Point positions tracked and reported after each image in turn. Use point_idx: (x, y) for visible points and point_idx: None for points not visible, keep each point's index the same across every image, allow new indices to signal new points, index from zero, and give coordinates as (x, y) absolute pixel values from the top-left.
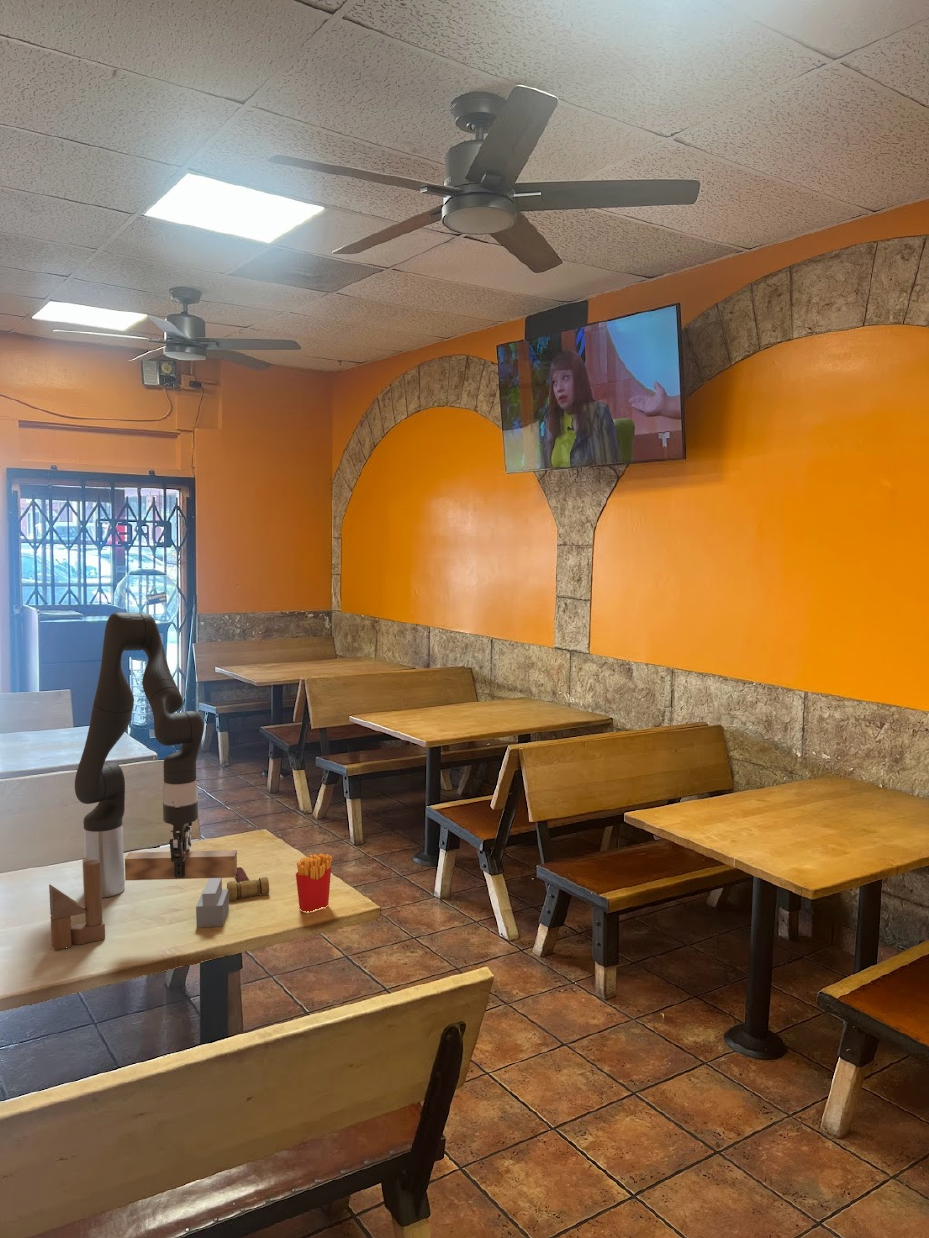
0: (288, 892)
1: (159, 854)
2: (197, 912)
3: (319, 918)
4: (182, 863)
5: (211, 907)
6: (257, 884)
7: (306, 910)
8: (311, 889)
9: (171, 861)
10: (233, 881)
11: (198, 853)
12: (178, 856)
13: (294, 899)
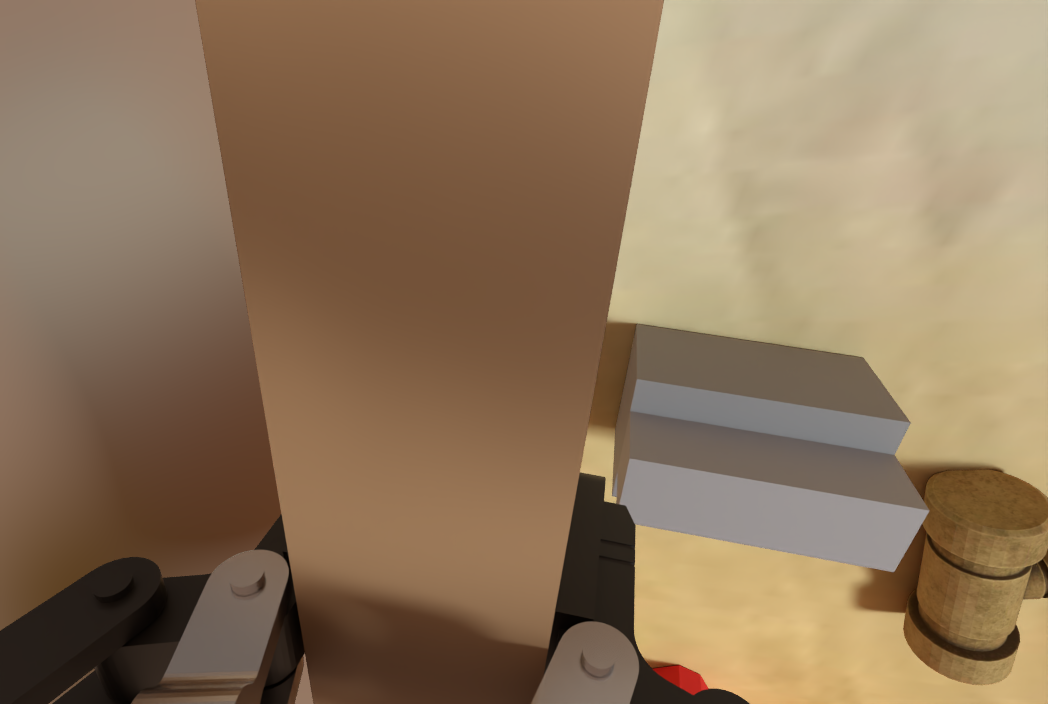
0: (892, 669)
1: (441, 426)
2: (635, 367)
3: None
4: None
5: (621, 445)
6: (944, 628)
7: None
8: None
9: (104, 564)
10: (1025, 559)
11: None
12: (105, 681)
13: (800, 671)
